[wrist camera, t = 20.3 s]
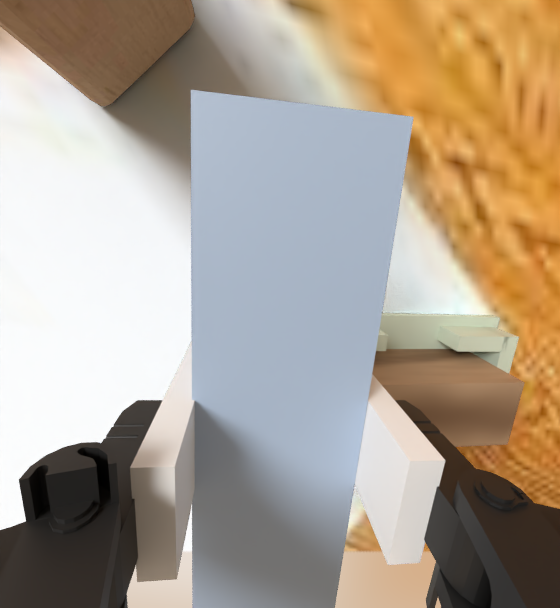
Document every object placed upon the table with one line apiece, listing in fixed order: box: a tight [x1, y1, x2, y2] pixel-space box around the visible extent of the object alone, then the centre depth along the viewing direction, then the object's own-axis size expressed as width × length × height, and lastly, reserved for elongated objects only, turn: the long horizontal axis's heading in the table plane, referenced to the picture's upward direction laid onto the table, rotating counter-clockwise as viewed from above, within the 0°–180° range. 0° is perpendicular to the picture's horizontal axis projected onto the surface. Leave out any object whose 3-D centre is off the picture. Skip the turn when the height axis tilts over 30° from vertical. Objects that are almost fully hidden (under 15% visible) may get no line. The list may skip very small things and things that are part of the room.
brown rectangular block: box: [372, 349, 524, 447], centre depth 28 cm, size 6×14×7 cm, turn 88°
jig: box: [376, 313, 519, 374], centre depth 30 cm, size 13×20×4 cm, turn 87°
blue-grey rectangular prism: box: [191, 90, 413, 608], centre depth 10 cm, size 16×4×5 cm, turn 176°
